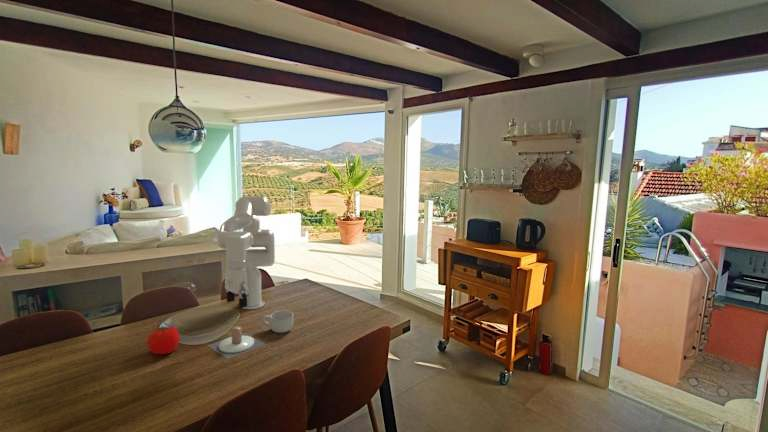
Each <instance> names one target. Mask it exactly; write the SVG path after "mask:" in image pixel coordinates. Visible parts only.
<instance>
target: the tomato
mask: <svg viewBox="0 0 768 432" xmlns="http://www.w3.org/2000/svg"><path fill="white" fill-rule="evenodd" d="M179 343H180V333H179V331H178V329H177V327H175V326H173V325H172V326H161V327H157V328H156V329H154V330H153V331H152V332H150V333H149V335H148V336H147V339H146V346H147V347H148V350H150V351H151V352H152V353H153V354H155V355H167V354H169V353H172V352H174V351H175V350H176V349H177V347H178V346H179Z"/></svg>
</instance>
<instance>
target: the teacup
mask: <svg viewBox="0 0 768 432" xmlns="http://www.w3.org/2000/svg"><path fill="white" fill-rule="evenodd" d="M294 316H295V314H294V312H292V311H290V310H285V309H284V310H275V311H273V312H272V313H270V315H269V314H266V315H264V316H263V317H262V322H263V323H264V324H265V325H267V326H268V327H270V329H271V331H273V332H274V333H278V334H283V333H287V332H290V331H291V330H292V328H293V327H294ZM266 318H267V319H268V320H269V321H270V322H268V321H266Z"/></svg>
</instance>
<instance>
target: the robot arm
mask: <svg viewBox="0 0 768 432" xmlns="http://www.w3.org/2000/svg"><path fill="white" fill-rule="evenodd" d="M271 210H272V203H271V201H270V200H269V198H267V197H266V196H259V195H258V196H253V195H251V196H250V195H249V196H247V195H246V196H242V197H239V198H238V200H237V201H236V202H235V211H234V214H233V215H232V216H230V218H227V220H225V221H224V222H223V223H222V224H221V225H220V227H219V231H218V234H217V239H216V240H217V246H218V247H219V248H220V249H222V250H226V251H225V254H226V255H225V257H226V262H225V263H226V264H225V265H226V268H225V275H224V289H225V292H226V302H227V303H232V302H234V301H235V297H236V296H235V294H237V295H239V298H238V299H239V300H238V303H239V304H238V308H240V309H243V310H257V309H260V308H262V307H263V306H265V301H264V300H262V273H261V271H260V269H259V267H260V268H261V267H272V266H273V265H274V264H275V260H276V259H275V257H276V256H275V252H276V251H275V249H276V248H275V247H276V246H275V233H274V231H273V230H271V229H261V226H260V219H259V217H260V216H261V217H262V216H263V217H267V216H270V214H271ZM240 230H242V231H240Z"/></svg>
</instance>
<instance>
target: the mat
mask: <svg viewBox="0 0 768 432" xmlns="http://www.w3.org/2000/svg"><path fill="white" fill-rule="evenodd" d="M242 335H244V336H250V337H252V338H253V339H254V345H253V346H252V347H251V348H250V349H248V350H246V351H242V352H238V353H225V352H222V351H220V350H219V343H220V342H221V341H223V340H224V339H222V340H218V341H217V342H214V343H211V344H208V345H207V347H208V348H210V349H212V350H213V351H214V352H216V353H218V354H219V355H221V356H222V357H223V358H225V359H226V360H231V359H233V358H235V357H236V358H237V357H238V356H240V355H243V354H246V353H248V352H251V351H254V350H256V349H258V348H261V347H264V346H266V343H264V342H262V341H260V340H259V339H257V338H255V337H254V336H251V335H250V334H249V333H246V332H243V333H242Z"/></svg>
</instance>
